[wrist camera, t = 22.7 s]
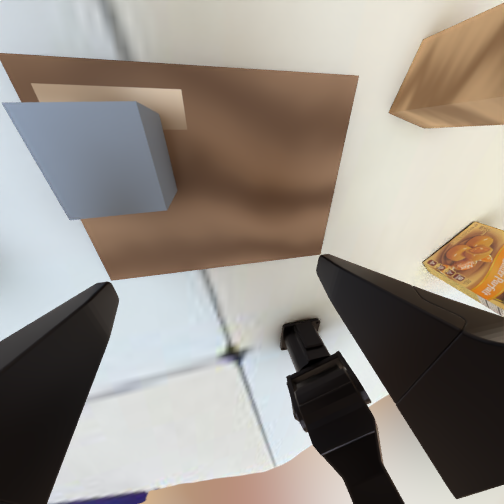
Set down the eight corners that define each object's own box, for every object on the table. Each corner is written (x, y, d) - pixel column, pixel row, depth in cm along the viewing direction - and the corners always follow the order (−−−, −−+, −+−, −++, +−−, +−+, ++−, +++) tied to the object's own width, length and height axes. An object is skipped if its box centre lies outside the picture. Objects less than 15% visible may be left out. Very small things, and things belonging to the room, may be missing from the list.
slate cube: (177, 190, 17) (167, 210, 12) (109, 196, 16) (69, 220, 11) (159, 113, 14) (136, 101, 9) (74, 115, 13) (1, 102, 8)
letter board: (317, 252, 24) (320, 254, 24) (113, 277, 20) (111, 280, 20) (354, 77, 16) (359, 75, 15) (5, 56, 11) (-4, 52, 11)
